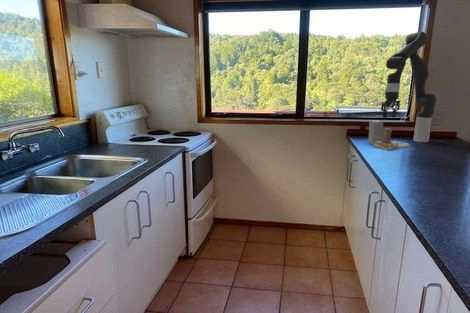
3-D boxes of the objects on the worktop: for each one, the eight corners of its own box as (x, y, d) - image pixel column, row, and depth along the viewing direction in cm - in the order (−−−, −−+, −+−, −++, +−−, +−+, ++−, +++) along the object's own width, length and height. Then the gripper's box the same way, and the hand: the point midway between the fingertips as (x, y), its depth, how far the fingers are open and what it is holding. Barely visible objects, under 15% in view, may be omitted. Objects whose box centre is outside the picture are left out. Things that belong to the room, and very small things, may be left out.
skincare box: (382, 145, 217) (385, 121, 213) (371, 145, 217) (374, 121, 213) (377, 142, 225) (379, 119, 221) (366, 142, 225) (369, 119, 221)
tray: (394, 144, 219) (394, 141, 218) (408, 147, 210) (408, 144, 210) (384, 146, 214) (385, 142, 214) (398, 149, 206) (398, 145, 205)
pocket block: (383, 146, 214) (384, 140, 213) (397, 149, 205) (398, 142, 204) (373, 147, 209) (374, 141, 208) (386, 150, 201) (387, 144, 200)
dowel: (384, 146, 210) (386, 128, 207) (390, 148, 206) (393, 129, 203) (379, 147, 208) (382, 128, 205) (386, 148, 204) (388, 129, 201)
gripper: (394, 90, 205) (391, 116, 209) (379, 90, 198) (376, 117, 202) (405, 91, 198) (401, 117, 202) (390, 91, 192) (386, 118, 196)
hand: (389, 117), depth 202 cm, fingers open, 8 cm apart
